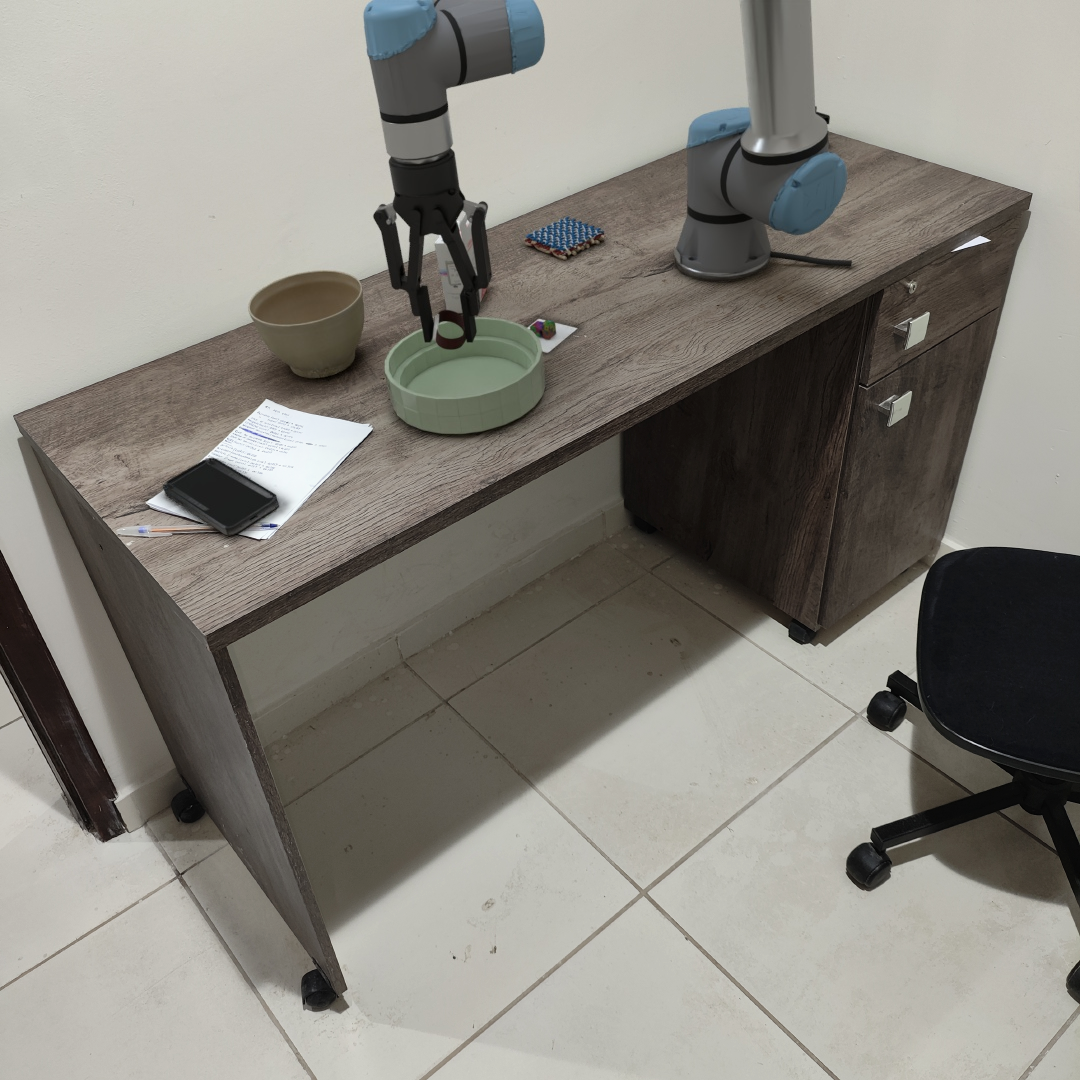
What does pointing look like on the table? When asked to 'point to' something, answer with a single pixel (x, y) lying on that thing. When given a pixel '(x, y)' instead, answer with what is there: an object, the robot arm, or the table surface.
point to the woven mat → (564, 237)
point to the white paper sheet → (550, 333)
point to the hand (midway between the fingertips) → (450, 336)
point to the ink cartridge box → (448, 269)
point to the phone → (221, 496)
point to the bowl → (466, 377)
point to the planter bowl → (311, 320)
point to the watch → (446, 342)
